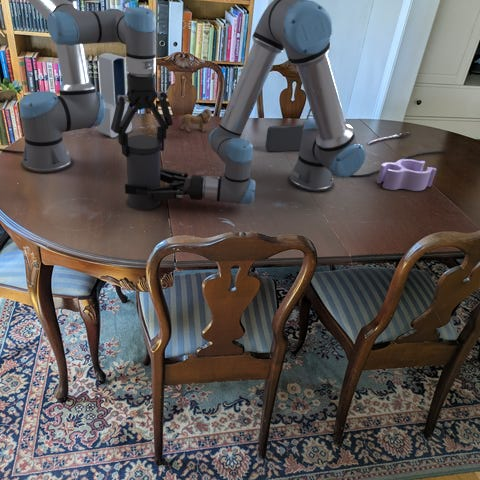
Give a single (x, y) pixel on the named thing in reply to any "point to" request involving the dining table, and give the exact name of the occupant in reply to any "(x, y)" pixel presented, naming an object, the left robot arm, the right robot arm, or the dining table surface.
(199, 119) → the lion figurine
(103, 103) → the left robot arm
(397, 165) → the clip
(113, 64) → the electronic device
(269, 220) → the dining table surface
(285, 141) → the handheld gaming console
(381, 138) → the sword
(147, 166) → the jar
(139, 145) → the lid
